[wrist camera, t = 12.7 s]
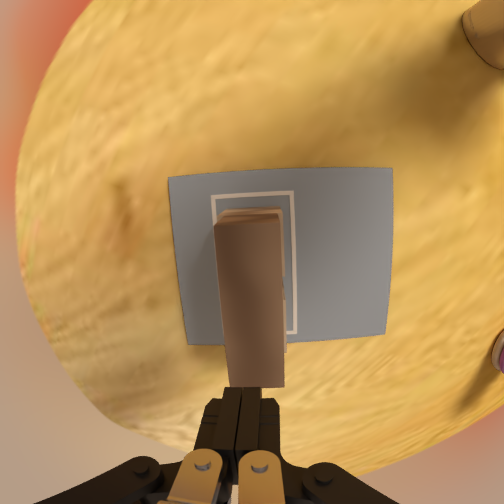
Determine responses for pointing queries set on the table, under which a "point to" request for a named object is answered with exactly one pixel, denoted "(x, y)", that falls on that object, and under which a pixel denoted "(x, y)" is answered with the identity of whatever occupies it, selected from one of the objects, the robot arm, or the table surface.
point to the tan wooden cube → (260, 211)
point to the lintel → (251, 298)
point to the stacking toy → (499, 353)
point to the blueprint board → (294, 247)
